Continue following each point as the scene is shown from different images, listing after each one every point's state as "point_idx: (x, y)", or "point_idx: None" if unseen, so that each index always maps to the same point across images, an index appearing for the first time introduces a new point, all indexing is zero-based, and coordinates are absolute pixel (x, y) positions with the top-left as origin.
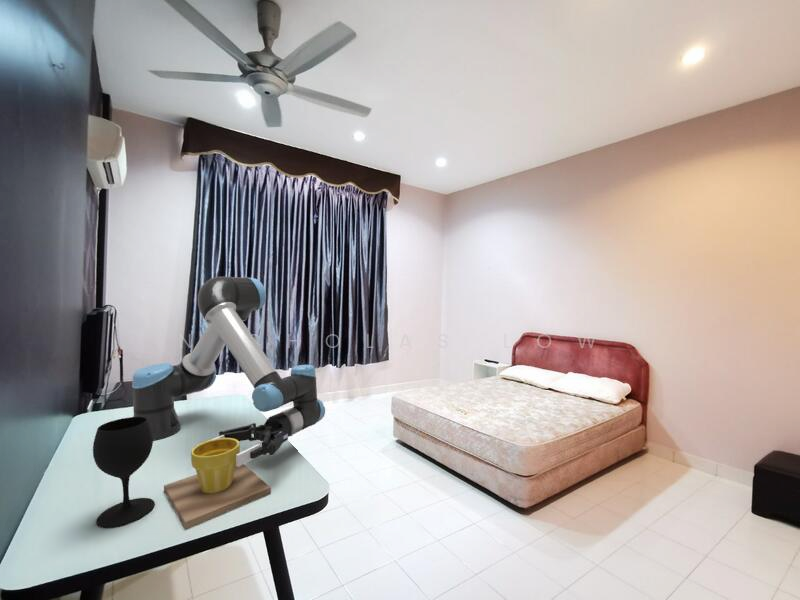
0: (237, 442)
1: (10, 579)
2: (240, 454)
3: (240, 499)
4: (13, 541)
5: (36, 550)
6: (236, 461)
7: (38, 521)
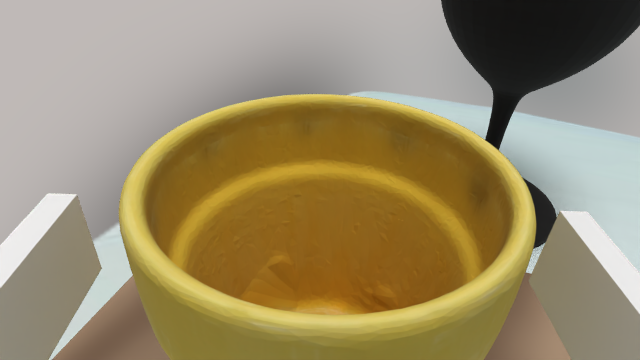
0: (192, 280)
1: (392, 94)
2: (33, 209)
3: (72, 341)
4: (529, 115)
5: (456, 116)
6: (87, 239)
7: (596, 140)
